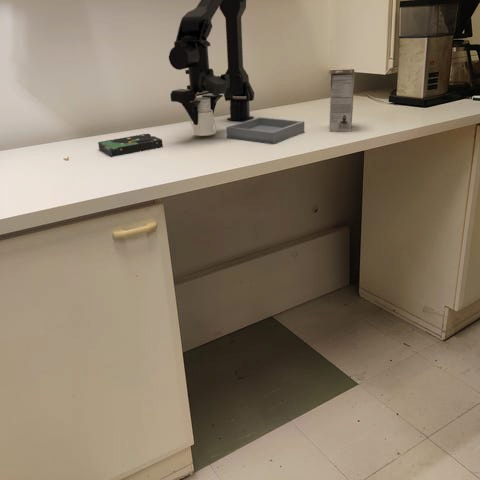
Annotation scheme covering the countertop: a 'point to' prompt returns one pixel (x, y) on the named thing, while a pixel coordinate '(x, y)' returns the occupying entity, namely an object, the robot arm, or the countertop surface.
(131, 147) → the disk drive
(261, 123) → the tray
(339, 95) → the coffee box
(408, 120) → the countertop surface
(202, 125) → the downlight
